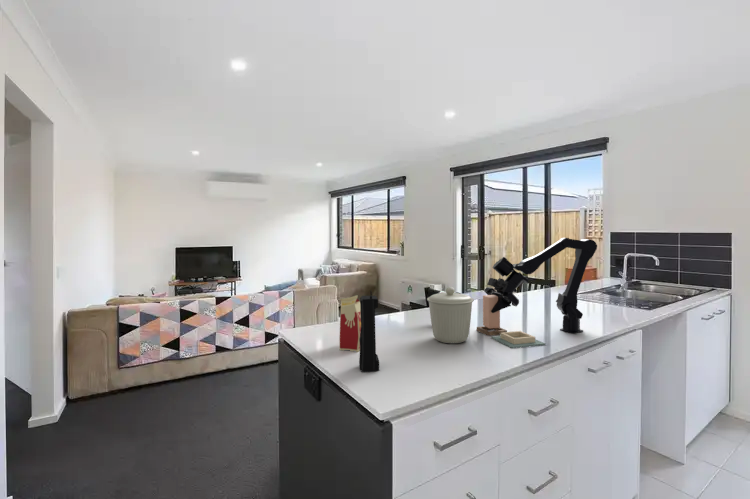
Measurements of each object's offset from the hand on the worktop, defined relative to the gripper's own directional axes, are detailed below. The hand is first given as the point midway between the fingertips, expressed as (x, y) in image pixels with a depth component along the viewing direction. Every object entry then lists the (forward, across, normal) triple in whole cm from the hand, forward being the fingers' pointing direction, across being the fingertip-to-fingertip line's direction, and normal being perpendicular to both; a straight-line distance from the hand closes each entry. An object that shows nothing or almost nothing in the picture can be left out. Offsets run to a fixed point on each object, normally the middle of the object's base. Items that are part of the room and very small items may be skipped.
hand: (488, 311), depth 153 cm
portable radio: (+47, +26, -34) cm, 64 cm away
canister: (+21, +6, -8) cm, 23 cm away
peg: (+4, 0, +6) cm, 7 cm away
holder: (+6, 0, +7) cm, 9 cm away
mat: (+4, +15, +9) cm, 18 cm away
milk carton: (+48, +4, -35) cm, 60 cm away
